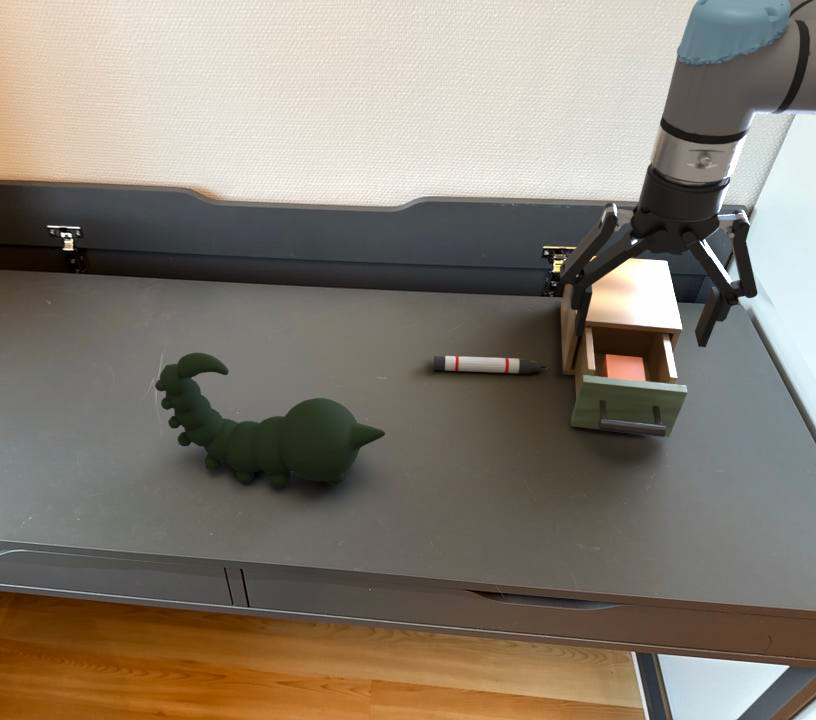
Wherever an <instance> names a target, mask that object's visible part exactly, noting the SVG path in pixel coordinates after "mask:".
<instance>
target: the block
mask: <svg viewBox="0 0 816 720" xmlns="http://www.w3.org/2000/svg"><path fill="white" fill-rule="evenodd" d="M599 377H607V378H617V379H627V380H637V381H646V379H645V372H644V366H643V359H642V358H640V357H630V356H620V355H610V354H606V355H605V358H604V361H603V365H602V368H601V372H600V375H599Z"/></svg>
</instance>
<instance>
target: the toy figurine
mask: <svg viewBox="0 0 816 720" xmlns="http://www.w3.org/2000/svg"><path fill="white" fill-rule="evenodd" d="M205 373H216V374H220V375H222V376H228V375H229V373H230V371H229V368H228V367H227V366H226V365H225V364H224V363H223V362H222V361H221V360H220V359H218V358H217V357H215V356H213V355H211V354H207V353H205V352H192V353H187V354H185V355H183V356H181V357H180V358H179V360H178V361H177V363H171V364H166V365H165V366H164V368H163V369H162V371H161V372H160V375H159V379H157V380H156V382H155V384H154V386H155V389H156V391H157V392H165V396H164V397H163V398H162V399H161V401H160V405H161V407H162V409H164V410H166V411H168V410H171V409H173V410H174V411H173V412H174V413H173V414H174V415H171V417H170V418H169V419H168V421H167V423H168V426H169V427H170V428H171V429H178V428H179V427H182V428H184V431H182V432H181V433H179V435H178V436H177V443H178V445H180V446H181V447H189V446H190V445H191V444H194V445H196V446H198V447H203V448H204V450H205V452H206V453H207V454H206V456H205V458H204V467H205V468H206V469H207V470H209V471H216V470H219V469H220V468H221V466H222V462H223V463H228V465H229V466H230V467H231V468H233V469H234V470H236V477H237V480H238V481H239V482H241V483H243V484H249V483H250V482H251V481H252V480H253V479H254V477H255V473H257V472H259V471H261V470H262V471H264V472H265V473H268V480H269V482H270V485H272V486H274V487H277V488H282V487H286V486H287V485H288V484H289V483H290V480H291V472H292V473H293V474H295V475H297V476H298V477H300V478H301V479H305V480H309V481H314V482H325V483H327V484H328V485H335V486H336V485H339V484H341V483H342V482H343V481H344V480H345V478H346V475H347V471H348V470H349V469H350V468H351V467H352V465H353V464H354V463H355V462H356V459H357V458H358V455H359V453H360V450H361V448H362V447H364V446H366V445H370V444H371V443H372V442H375V441H377V440H379V439H381V438H383V437H384V436H385V435H386V431H385V430H383V429H380V428H377V427H373V426H370V425H366V424H362V423H359V422H358V421H357V419H356V417H355V416H354V415H353V413H352V412H351V411H350V410H349V409H348V408H347V407H346V406H344V405H343V404H341V403H340V402H337V401H336V400H333V399H329V398H326V397H325V398H324V397H316V398H310V399H305V400H303V401H301V402H299V403H297V404H296V405H294V406H292V407H291V408H290V409H289V410H288V412H287V413H286V414H285V415H284V416H282V415H275V416H270V417H268V418H265V419H263V420H262V421H260V422H257V421H253V420H244V421H240V422H237V421H235V420H234V419H230V418H223V416H222V414H221V413H220V411H218V410H216V409H215V408H212V405H211V402H210V400H209V399H208V398H207V397H206V396H205V395H204V394H202V391H201V387H200V385H199V384H198V382H197V381H196V380H194V379H193V378H194V377H196V376H198V375H200V374H205Z"/></svg>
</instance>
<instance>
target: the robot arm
mask: <svg viewBox="0 0 816 720" xmlns="http://www.w3.org/2000/svg"><path fill="white" fill-rule="evenodd" d="M666 96H667V97H666V100H665V103H664V108H663V112H662V114H661V118H660V121H659V124H658V128H657V132H656V135H655V139H654V142H653V147H652V150H651V154H650V157H649V161H650V164H648V166H647V168H646V172H645V176H644V180H643V182H642V183H643V184H642V187H641V191H640V195H639V198H638V202H637V204H636V205H635V207H633V208H632V209H631V210H629V209H623V208H617V205H616V204H615V203H613V202H608V203H606V204H605V205H604V206H603V209H602V212H601V214H600V217H599V220H598V221H597V222H596V223H595V224H594V226H593V227H592V228H591V229H590V230H589V232H588V233H587V234H585V236H584V237H583V239H582V240H581V241H580V242H579V243H578V245H576V247H575V248H574V249H573V250H572V251H571V252H570V254H569V255H568V256H567V258H565V260H564V261H563V262H562V263H561V264H560V266H559V282H560V284H562V285H564V286H565V285H567V284H570V285H572V286H573V288H572V293H571V298H570V303H571V309H572V310H577V313H576V318H575V336H581V337H582V335H583V331H584V327H585V322H586V318H587V314H588V310H589V306H590V302H591V297H592V293H593V292H592V284H594V283H595V282H596V281H598V280H599V279H601V278H602V277H604V276H605V275H607V274H608V273H610V272H611V271H612V270H614V269H615V268H617V267H618V266H620V265H621V264H623V263H624V262H625V261H627V260H628V259H630V258H637V257H638V256H640V255H642V254H643V253H645V252H646V251H648V252H649V253H650V254H670V255H674V256H682V255H683V254H684V253H687V252H690V253H691V255H692V256H693V257H694V258H695V260H696V261H697V262H698V263H699V264H700V266H701V267H702V268H703V270H704V271H705V273H706V274H707V276H708V277H709V278H710V280H711V282H712V283H713V285H714V286H715V287H714V286H711V288H710V291H709V293H708V296H707V298H706V301H705V303H704V306H703V308H702V312H701V314H700V317H699V319H698V322H697V324H696V327H695V330H694V334H695V338H696V343H697V346H698V347H699V348H706V347H707V344H708V343H709V340H710V337H711V335H712V332H713V330H714V328H715V326H716V323H717V322H724V321H725V320H726V319H727V318H728V315H729V313H730V311H731V309H732V307H733V306H736V305H738V303H739V298H743V297H745V298H747V299H753V298H755V297H757V295H758V288H757V283H756V279H755V275H754V271H753V266H752V262H751V256H750V252H749V248H748V244H747V239H748V235H749V231H750V229H751V226H750V225H751V224H750V222H749V220H748V217H747V215H746V212H745V210H744V209H741V208H738V209H736V210H734V211H733V212H732V213H731V214H719V212H720V211H721V208H722V206H723V202H724V199H725V197H726V194H727V191H728V189H729V186H730V183H731V175H732V174H733V173H734V170H735V168H736V165H737V163H738V160H739V157H740V154H741V151H742V148H743V146H744V143H745V140H746V138H747V135H748V134H749V130H750V128H751V124H752V121H753V120H754V117H755V116H756V115H757V114H770V115H771V114H772V115H779V114H785V115H786V114H788V115H816V0H697V1H696V2H695V3H694V4H693V7H692V9H691V11H690V14H689V17H688V20H687V23H686V26H685V29H684V32H683V35H682V38H681V41H680V44H679V45H678V47H677V49H676V59H675V64H674V68H673V72H672V76H671V79H670V83H669V88H668V92H667V95H666ZM627 224H630V227H631V228H630V229H629V230H627V231H625V233H624V234H623V236H622V237H621V238H620V239H619V240H617V241H615V242H614V243H613V244H612V245H609V247H607V248H606V249H604V250H603V251H602V252H601V253H599V254H597V253H598V252H599V251H600V250H601V249H602V248H603V247H604V246H605V244H606V243H607V242H608V241H609V239H610V238H611V237H612V236H613V233H614V232H616V233H617V232H619V231H620V229H621V228H622V227H623V226H624V225H627ZM719 229H720V230H722V232H723V235H724V236H725V237H727V238H729V241H730V244H731V249H732V255H733V258H734V262H735V266H736V271H737V273H738V274H737V275H738V278H739V279H737V280H732V279H731V277H730V276H729V274H728V272H727V271H726V270H725V268H724V266H723V265H722V263H721V262H720V260H719V259H718V258H717V256H716V254H715V253H714V252H713V250H712V249H711V247H710V246H709V244H708V242H707V241H706V239H708V238H709V237H710V236H712V235H713V234H714V233H716V232H717V231H718V230H719ZM594 256H596V257H595V258H594V259H592V258H593V257H594ZM591 259H592V260H591ZM590 260H591V261H590Z"/></svg>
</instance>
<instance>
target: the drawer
mask: <svg viewBox="0 0 816 720" xmlns="http://www.w3.org/2000/svg"><path fill="white" fill-rule="evenodd" d="M606 354H610V355H620V356H630V357H640V358H642V359H643V366H644V372H645V379H646V381H637V380H627V379H617V378H607V377H599V375H600V372H601V368H602V365H603V361H604V358H605V355H606ZM574 366H575V375H574V383H575V397H576V398H575V402H574V403H575V404H574V407H573V410H572V413H571V418H570V423H571V425H570V426H571V427H577V428H584V429H585V428H586V429H594V430H599V431H605V432H606V431H607V432H616V433H623V434H633V435H639V436H640V435H641V436H649V437H656V438H657V437H658V438H669V437H670V436H671V433H672V431H673V429H674V426H675V424H676V421H677V419H678V416H679V414H680V412H681V409H682V407H683V404H684V402H685V400H686V397H687V395H688V388H687V385H684V384H676V383H677V380H678V375H677V370H676V364H675V360H674V353H673V354H672V349H671V344H670V339H669V334H668V333H664V332H653V331H642V330H631V329H620V328H609V327H597V326H586V325H585V327H584V331H583V335H582V337H581V336H579V337H578V341H577V345H576V349H575V353H574Z"/></svg>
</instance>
